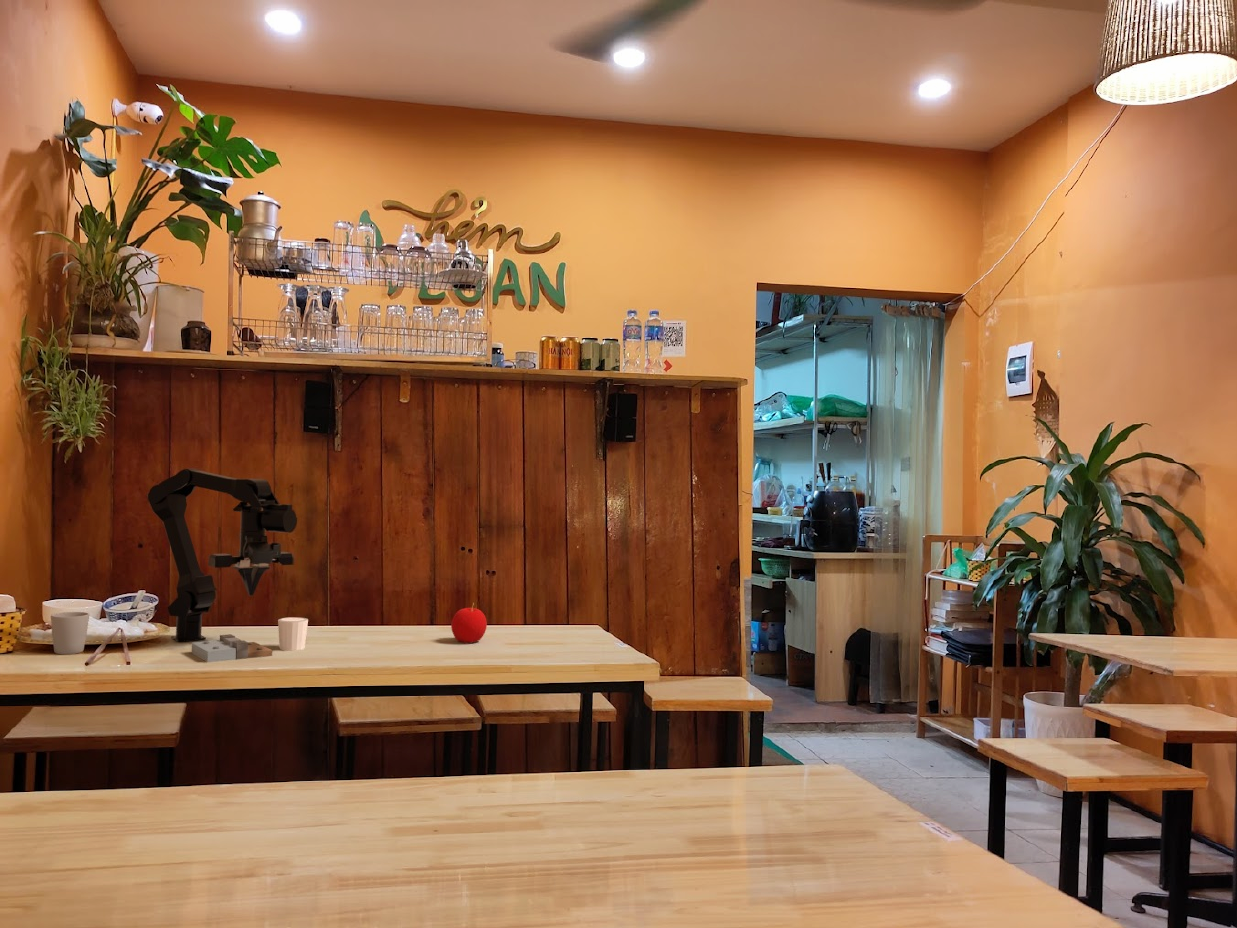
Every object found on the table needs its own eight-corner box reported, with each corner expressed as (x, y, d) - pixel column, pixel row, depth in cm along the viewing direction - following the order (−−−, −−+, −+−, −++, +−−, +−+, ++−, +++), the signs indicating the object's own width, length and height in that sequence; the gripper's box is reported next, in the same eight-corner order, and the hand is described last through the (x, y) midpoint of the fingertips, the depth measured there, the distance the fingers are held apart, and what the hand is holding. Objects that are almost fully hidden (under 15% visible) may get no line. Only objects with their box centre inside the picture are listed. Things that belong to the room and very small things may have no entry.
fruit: (483, 645, 238) (484, 605, 238) (447, 644, 238) (449, 604, 238) (488, 638, 247) (490, 600, 247) (454, 637, 247) (455, 599, 247)
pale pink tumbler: (311, 646, 229) (313, 617, 229) (299, 651, 222) (300, 622, 222) (284, 644, 230) (285, 616, 230) (271, 650, 223) (272, 620, 223)
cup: (45, 655, 208) (46, 617, 208) (56, 647, 218) (58, 610, 218) (84, 654, 211) (85, 616, 211) (93, 646, 220) (95, 609, 220)
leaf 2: (236, 659, 212) (237, 643, 212) (219, 650, 221) (219, 635, 221) (272, 655, 217) (272, 640, 217) (253, 646, 226) (254, 632, 226)
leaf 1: (207, 662, 208) (207, 647, 208) (191, 653, 217) (191, 638, 217) (247, 658, 213) (247, 642, 213) (229, 649, 222) (229, 634, 222)
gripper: (223, 533, 216) (221, 602, 216) (303, 532, 228) (301, 597, 228) (208, 530, 225) (206, 596, 225) (286, 529, 237) (284, 591, 237)
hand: (250, 595), depth 228 cm, fingers closed
